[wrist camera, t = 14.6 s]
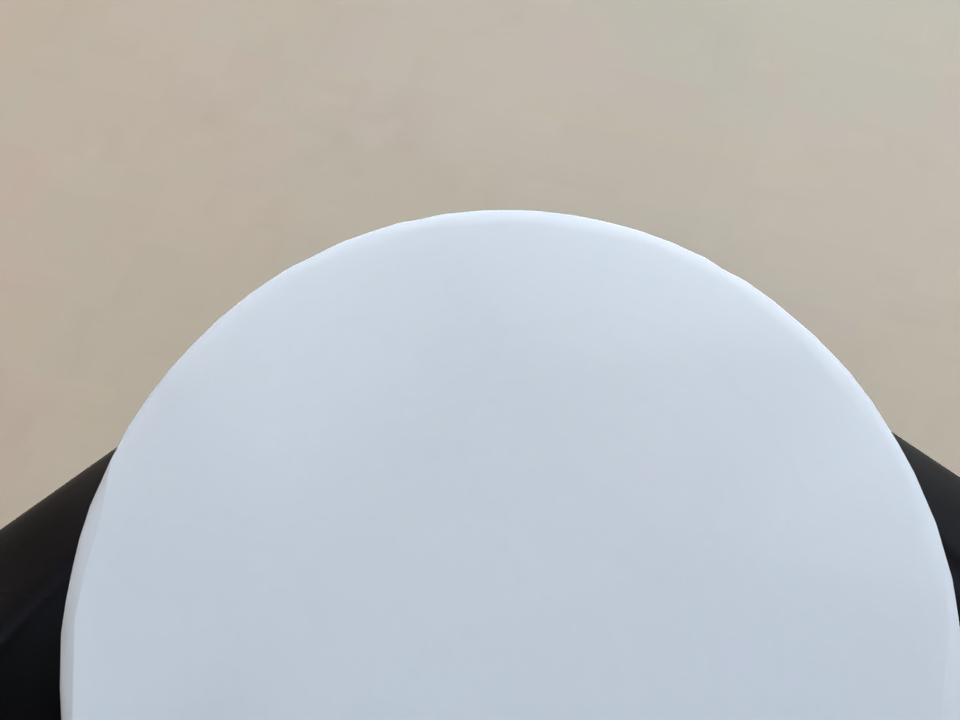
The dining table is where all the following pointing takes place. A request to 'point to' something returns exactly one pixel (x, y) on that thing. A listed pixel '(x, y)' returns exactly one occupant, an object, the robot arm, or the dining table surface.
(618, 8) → the dining table surface
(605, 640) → the pill bottle
